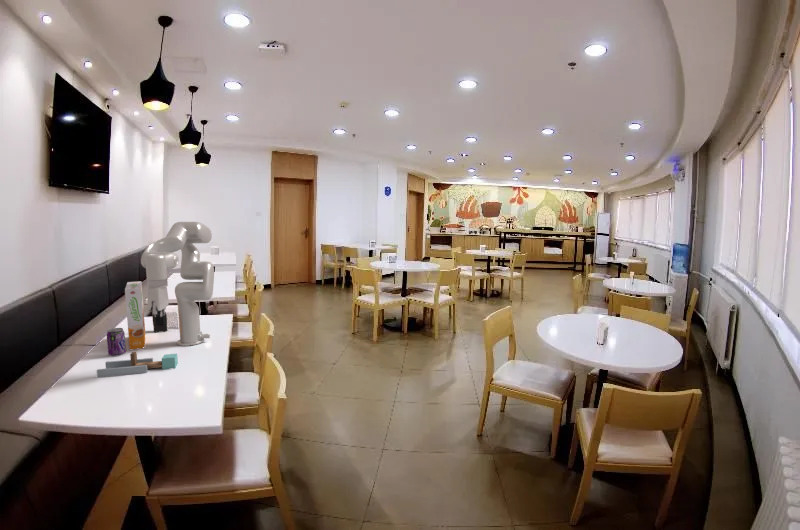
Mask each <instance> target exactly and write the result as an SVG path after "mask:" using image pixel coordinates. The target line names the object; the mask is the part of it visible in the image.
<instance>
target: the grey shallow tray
mask: <svg viewBox="0 0 800 530" xmlns="http://www.w3.org/2000/svg"><path fill="white" fill-rule="evenodd" d="M144 362H154V357H148V358H137V363H144ZM138 373H139V374H147V373H148V369H147V365H142V366H131V359H122V360H111V361H109V360H108V361H105V368H98V369H97V370H96V376H97V378H103V377H105V376H106V377H113V376H115V377H116V376H124V375H125V376H126V375H127V374H128V375H137V374H138ZM106 377H105V378H106Z"/></svg>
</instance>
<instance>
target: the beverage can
mask: <svg viewBox="0 0 800 530" xmlns="http://www.w3.org/2000/svg"><path fill="white" fill-rule="evenodd" d="M106 331H107V332H106V343H107V355H109V356H112V357H116V356H117V355H118V356H121V354H122V355H123V354H125V353H127V348H126V347H127V345H126V336H125V335H126V334H125V331H124V329H123V327H114V328H113V327H112V328H110V329H108V330H106ZM118 356H117V357H118Z"/></svg>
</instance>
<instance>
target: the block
mask: <svg viewBox="0 0 800 530" xmlns="http://www.w3.org/2000/svg"><path fill="white" fill-rule="evenodd" d="M161 361H162V367H161V370H170V369H169V368H173V369H176V368H177V367H178V365H179V362H178V353H168V354H164V355H163V356H162V357H161ZM177 364H178V365H177ZM176 366H177V367H176Z"/></svg>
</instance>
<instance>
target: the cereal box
mask: <svg viewBox="0 0 800 530" xmlns="http://www.w3.org/2000/svg"><path fill="white" fill-rule="evenodd" d="M124 295H125V296H124V298H125V306H126V319H127V331H128V333H127V334H128V344H129V345H128V346H129V350H130V349H133V350H138V349H137V348H140V349H144V348H143V347H146V337H145V335H146V324H145V323H146V322H145V313H144V312H145V311H144V297H143V285H142V281H139V280H138V281H127V283H126V285H125V288H124Z"/></svg>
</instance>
